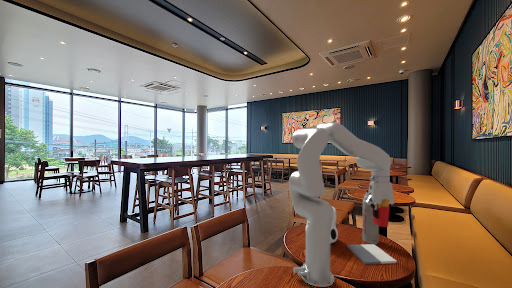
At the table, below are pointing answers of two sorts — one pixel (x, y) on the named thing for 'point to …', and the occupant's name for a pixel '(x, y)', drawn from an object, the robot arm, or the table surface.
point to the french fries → (382, 214)
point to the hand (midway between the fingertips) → (380, 216)
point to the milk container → (333, 228)
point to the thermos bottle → (369, 224)
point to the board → (371, 254)
